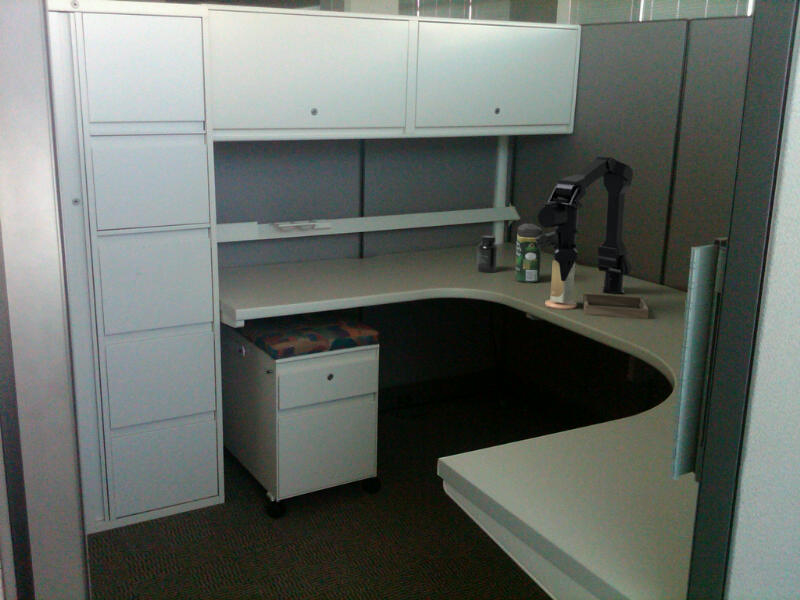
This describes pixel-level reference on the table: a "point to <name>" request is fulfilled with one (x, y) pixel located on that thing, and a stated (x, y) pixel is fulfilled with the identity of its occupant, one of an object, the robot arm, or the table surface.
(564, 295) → the skincare box
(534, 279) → the coffee jar
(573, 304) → the peach flat disc
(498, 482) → the table surface
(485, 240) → the supplement bottle
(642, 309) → the brown wooden frame
